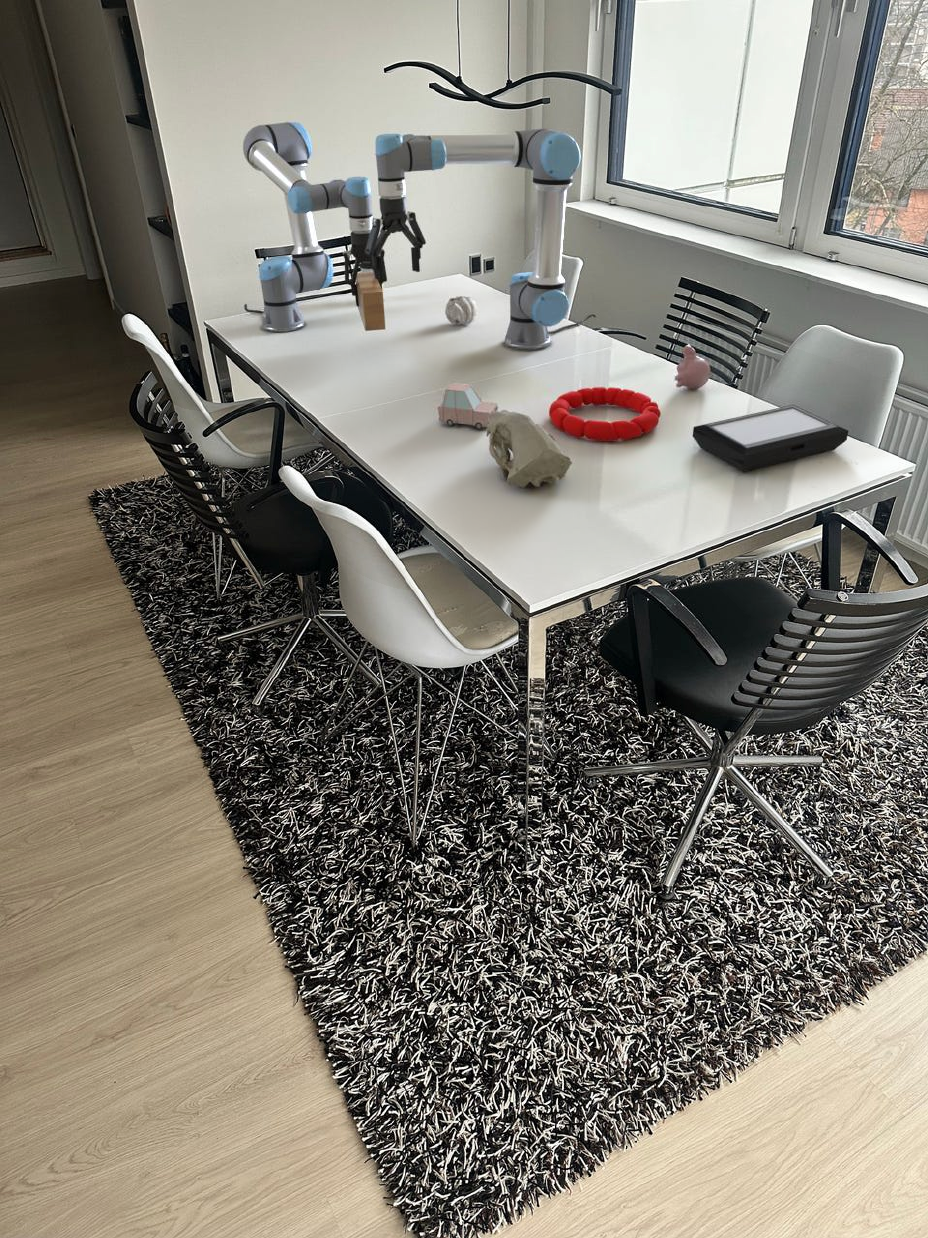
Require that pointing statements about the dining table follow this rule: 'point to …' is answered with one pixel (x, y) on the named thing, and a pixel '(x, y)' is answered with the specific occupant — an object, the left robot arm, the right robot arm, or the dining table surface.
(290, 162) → the left robot arm
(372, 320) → the box
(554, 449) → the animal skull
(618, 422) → the decorative ring
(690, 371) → the figurine
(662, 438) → the dining table surface
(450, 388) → the toy car
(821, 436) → the electronic device
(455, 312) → the seashell
